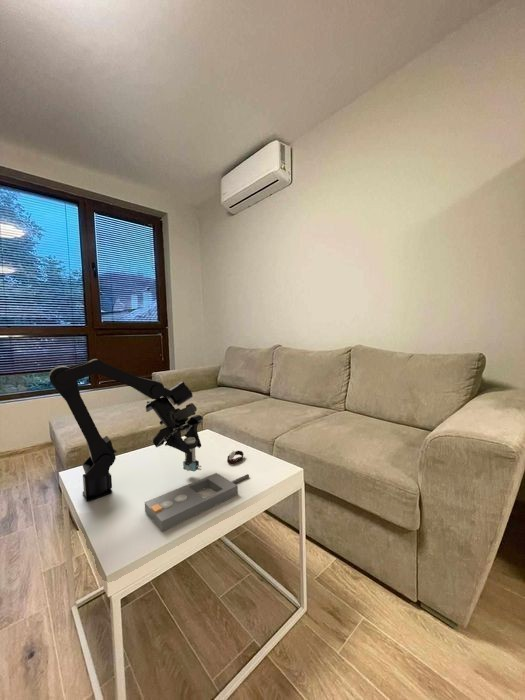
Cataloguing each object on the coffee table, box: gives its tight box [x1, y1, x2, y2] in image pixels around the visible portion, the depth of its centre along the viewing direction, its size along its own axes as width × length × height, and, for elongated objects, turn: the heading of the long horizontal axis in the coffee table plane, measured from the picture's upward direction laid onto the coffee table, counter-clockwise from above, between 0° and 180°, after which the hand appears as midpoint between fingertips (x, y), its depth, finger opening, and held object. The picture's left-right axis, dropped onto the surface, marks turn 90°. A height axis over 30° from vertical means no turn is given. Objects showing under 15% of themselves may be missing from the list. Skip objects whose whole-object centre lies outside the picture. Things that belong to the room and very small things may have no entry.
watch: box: [226, 450, 244, 465], centre depth 103 cm, size 8×5×4 cm, turn 149°
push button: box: [182, 437, 202, 472], centre depth 91 cm, size 7×5×10 cm
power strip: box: [144, 472, 250, 533], centre depth 80 cm, size 30×11×3 cm, turn 132°
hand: (195, 450), depth 90 cm, fingers closed on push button, 5 cm apart
